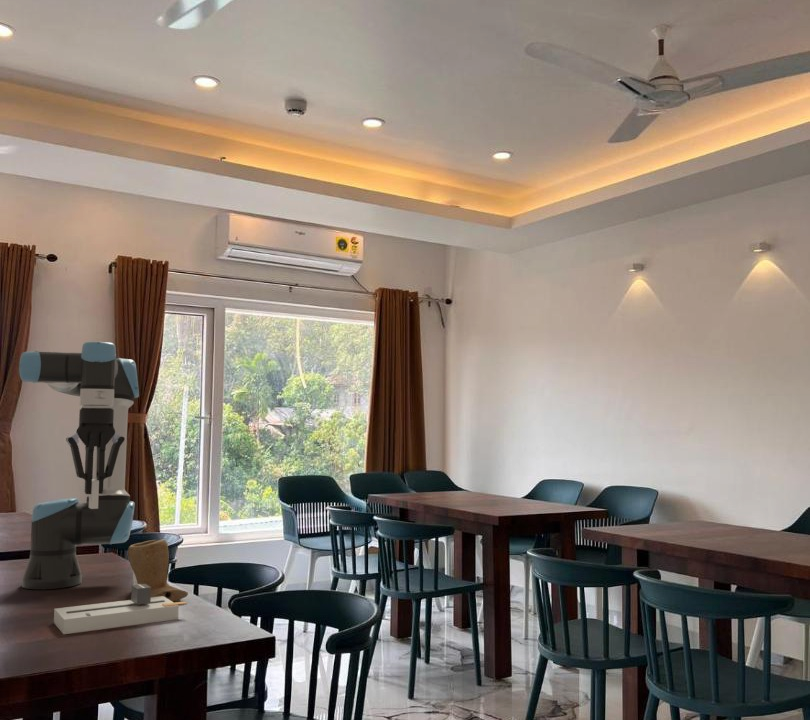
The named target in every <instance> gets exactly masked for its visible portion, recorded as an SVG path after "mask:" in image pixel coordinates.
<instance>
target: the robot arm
mask: <svg viewBox="0 0 810 720" xmlns="http://www.w3.org/2000/svg"><path fill="white" fill-rule="evenodd" d="M116 349H117V348H116V345H115V344H114V343H113V342H107V341H86V342H84V343H83V344H82V348H81V352H59V351H39V350H35V351H24V352H22V353H21V355H20V358H19V366H18V367H19V368H18V369H19V378H20V380H21V381H22V382H24V383H33V384H35V383H42V384H47V385H48V387H49V388H50V389H52V390H53V391H56V392H58V393H62V394H66V395H68V396H69V395H70V396H75V397H79V405H80V406H81V408H80V409H79V418H78V427H77V429H76V433H74V434H72V435H71V436H67V437H66V438H65V441H66V442H67V444H68V446H69V447H70V451H71V454H72V460H73V464H74V470H75V473H76V474H75V475H76V476H77V478H80V479H83V480H84V494H85V495H86V501H85V502H79V501H80V500H79V499H78V497H70V498H62V499H55V500H49V501H44V502H40V503H37V504H36V505H34V507H33V508H32V513H31V515H32V516H31V520H30V523H31V526H30V527H31V530H30V531H31V533H30V552H29V553H30V554H29V559H28V562H27V565H26V567H25V570H24V572H23V574H22V578H21V588H23V589H27V590H56V589H63V588H69V587H74V586H77V585H80V584H82V582H83V580H82V579H83V576H82V575H83V574H82V571H81V568H80V564H79V561H78V557H77V546H83V545H84V546H86V545H87V546H88V545H89V546H90V545H112V544H124V543H126V542H127V541H128V540H129V538H130V534H131V530H132V526H133V525H132V524H133V521H134V520H133V519H134V514H135V506H136V505H135V504H136V503H135V501H132V500H130V499H131V495H130V494H129V493H128V492H127V491H126V489H125V487H126V466H127V446H128V445H127V443H128V442H127V441H128V440H127V439H128V420H129V419H128V417H129V408H131V407H132V406H133V405H134V402H135V399H137V398H140V391H139V380H138V371H137V364H136V362H135V360H133V359H130V358H129V359H128V358H121V357H117V353H116V352H117V351H116ZM79 440H81V442H82V444H83V445H84V446H85V447H84V448H85V460H84V467H83V462H82V458H81V457H82V456H81V453H80V449H79V445H78V443H79Z"/></svg>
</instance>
